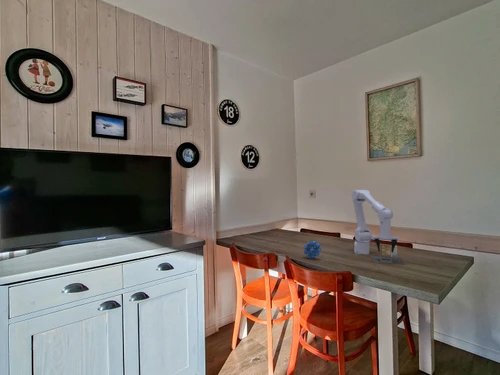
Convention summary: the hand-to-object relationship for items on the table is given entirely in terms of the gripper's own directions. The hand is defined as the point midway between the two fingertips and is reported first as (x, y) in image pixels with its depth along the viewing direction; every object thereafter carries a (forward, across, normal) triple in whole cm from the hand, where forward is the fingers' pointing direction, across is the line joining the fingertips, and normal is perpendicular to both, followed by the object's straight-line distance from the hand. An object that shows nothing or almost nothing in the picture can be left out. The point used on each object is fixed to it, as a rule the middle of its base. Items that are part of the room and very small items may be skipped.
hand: (385, 251), depth 159 cm
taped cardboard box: (+2, 0, 0) cm, 2 cm away
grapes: (+7, -43, -2) cm, 44 cm away
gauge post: (+6, +6, +8) cm, 12 cm away
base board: (+7, +1, +3) cm, 7 cm away
